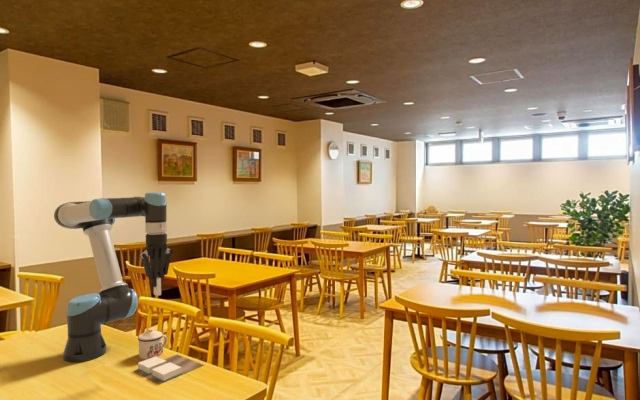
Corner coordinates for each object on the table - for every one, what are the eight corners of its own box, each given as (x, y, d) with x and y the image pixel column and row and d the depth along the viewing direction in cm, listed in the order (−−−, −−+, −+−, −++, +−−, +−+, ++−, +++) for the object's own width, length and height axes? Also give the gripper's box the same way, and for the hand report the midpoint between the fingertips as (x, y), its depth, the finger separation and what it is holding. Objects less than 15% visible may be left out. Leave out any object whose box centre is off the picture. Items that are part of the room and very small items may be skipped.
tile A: (155, 362, 157) (138, 369, 151) (155, 356, 157) (137, 362, 151) (166, 367, 153) (148, 374, 147) (166, 360, 153) (148, 367, 147)
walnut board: (133, 375, 150) (132, 371, 150) (177, 358, 165) (177, 354, 165) (159, 388, 140) (159, 384, 140) (204, 369, 154) (204, 365, 154)
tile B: (170, 369, 152) (152, 376, 146) (169, 362, 151) (151, 369, 146) (181, 374, 147) (163, 381, 142) (181, 367, 147) (163, 374, 142)
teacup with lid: (148, 365, 159) (147, 334, 158) (133, 359, 164) (132, 330, 163) (174, 353, 169) (173, 325, 168) (160, 349, 174) (159, 321, 173)
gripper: (145, 235, 152) (146, 300, 154) (177, 232, 163) (178, 292, 164) (134, 234, 157) (136, 296, 158) (166, 230, 167) (167, 289, 168)
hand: (157, 294), depth 161 cm, fingers closed
